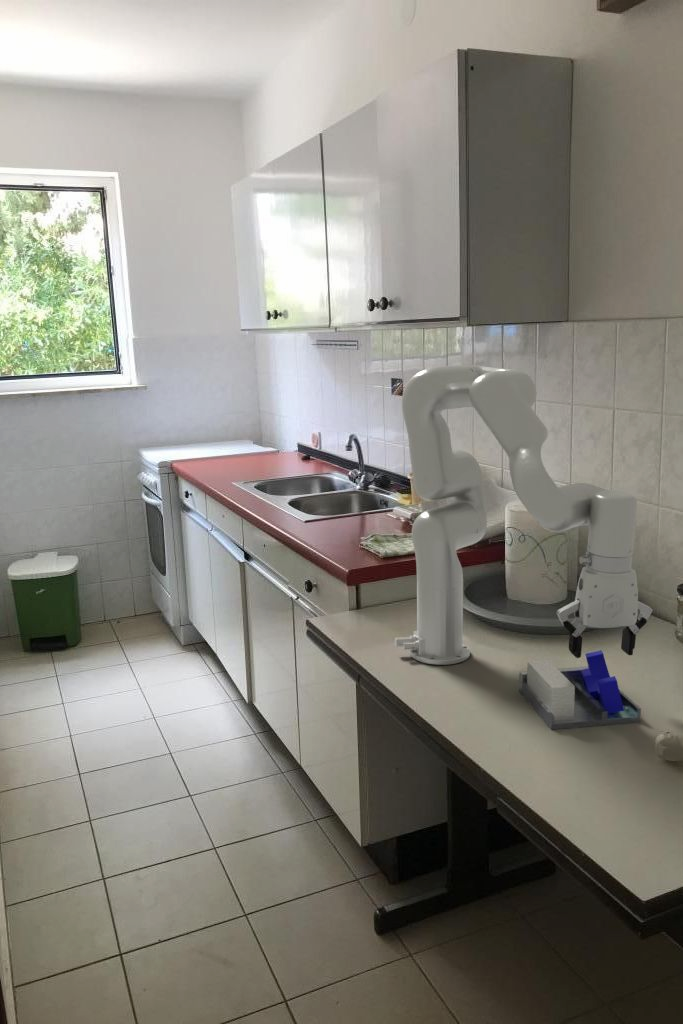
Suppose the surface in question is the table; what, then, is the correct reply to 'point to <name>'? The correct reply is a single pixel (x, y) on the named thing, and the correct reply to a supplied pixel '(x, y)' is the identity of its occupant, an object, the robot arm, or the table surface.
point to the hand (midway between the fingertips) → (601, 653)
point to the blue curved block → (601, 682)
